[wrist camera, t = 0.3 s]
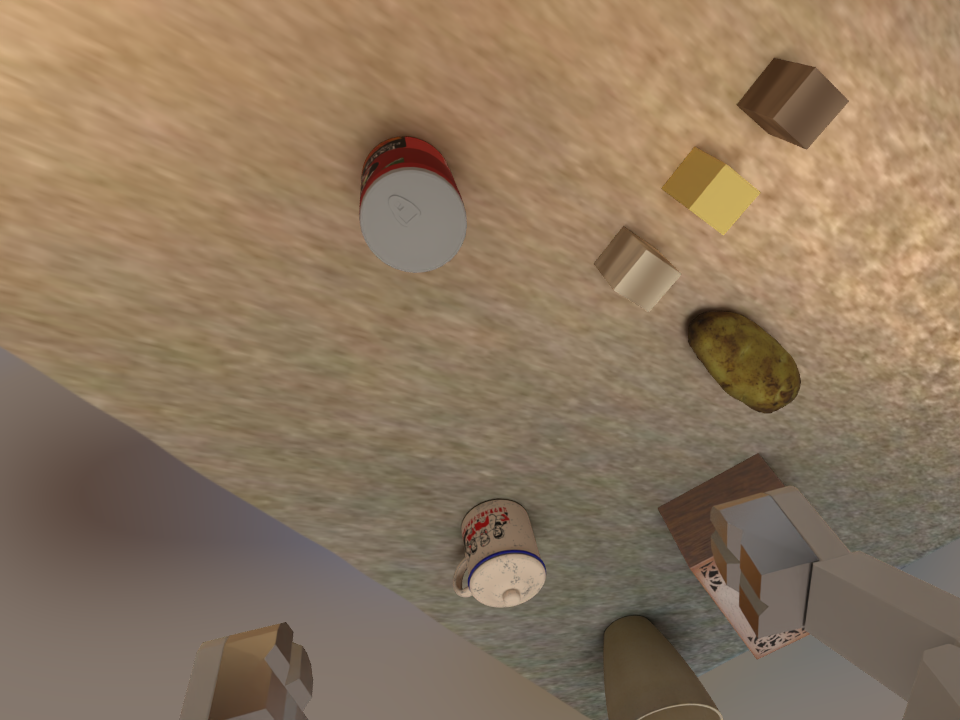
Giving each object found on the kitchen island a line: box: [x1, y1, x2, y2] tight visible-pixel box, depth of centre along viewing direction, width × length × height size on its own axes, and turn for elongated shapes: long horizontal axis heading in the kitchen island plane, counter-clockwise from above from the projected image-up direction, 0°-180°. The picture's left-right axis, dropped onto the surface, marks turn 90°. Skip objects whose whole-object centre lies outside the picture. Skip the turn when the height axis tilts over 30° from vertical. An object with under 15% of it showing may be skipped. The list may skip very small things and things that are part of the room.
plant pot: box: [603, 616, 723, 720], centre depth 88 cm, size 15×15×16 cm
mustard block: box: [661, 147, 761, 235], centre depth 56 cm, size 4×4×6 cm
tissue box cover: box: [658, 453, 809, 659], centre depth 83 cm, size 26×14×10 cm, turn 33°
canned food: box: [359, 137, 467, 273], centre depth 49 cm, size 8×8×11 cm
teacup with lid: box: [453, 500, 546, 607], centre depth 74 cm, size 12×9×12 cm
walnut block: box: [737, 58, 849, 149], centre depth 52 cm, size 4×4×6 cm
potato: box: [688, 311, 801, 413], centre depth 65 cm, size 8×13×8 cm, turn 33°
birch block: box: [594, 226, 681, 312], centre depth 59 cm, size 4×4×6 cm
